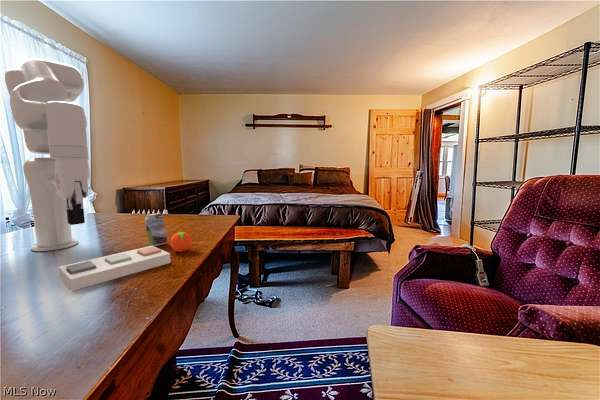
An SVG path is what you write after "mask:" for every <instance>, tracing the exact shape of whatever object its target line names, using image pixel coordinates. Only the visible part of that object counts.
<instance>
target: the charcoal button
mask: <svg viewBox="0 0 600 400" xmlns="http://www.w3.org/2000/svg"><path fill="white" fill-rule="evenodd" d="M66 267H67V272H68V273H69V274H70V275H72V274H76V273H80V272H84V271H88V270H92V269H96V265H95V264H93V263H92V262H91V261H87V262H83V263H79V264H74V265H70V266H66Z"/></svg>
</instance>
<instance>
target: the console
mask: <svg viewBox="0 0 600 400" xmlns="http://www.w3.org/2000/svg"><path fill="white" fill-rule="evenodd" d="M149 247H153V246H152V245H149V246H144V247H141V248H135V249H131V250H126V251H122V252H118V253H113V254H109V255H106V256H105V255H103V256H100V257H95V258H92V259H91V258H90V259H87V260H82V261H78V262H74V263H70V264H65V265H60V266H58V267H57V268H58V274H59V275H58V276H59V278H60V280H61V279H62V280H63V281H62V280H61V281H62V282H63V283H64V284H65V286H67V287H68V288H69V290H70V291H71V290H72V292H73V291H77V290H81V289H84V288H88V287H91V286H95V285H99V284H101V283H104V282H108V281H111V280H116V279H119V278H122V277H125V276H129V275H134V274H136V273H139V272H143V271H146V270H149V269H153V268H157V267H160V266H163V265H167V264H171V252H168V251H165V250H163V249H161V252H160V253H156V254H152V255H148V256H142V255H140V254H138V253H137V250H140V249H144V248H149ZM122 253H125V254H127V255H129V256H131V260H128V261H124V262H120V263H116V264H112V265H110V264H109V263H107V262H106V261H105V257H109V256H114V255H118V254H122ZM87 261H91V262H92V263H93V264H95V265H96V269H92V270H88V271H84V272H80V273H76V274H72V275H70V274H69V273H68V272H67V267H66V266H70V265H74V264H79V263H83V262H87Z"/></svg>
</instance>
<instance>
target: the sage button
mask: <svg viewBox="0 0 600 400" xmlns="http://www.w3.org/2000/svg"><path fill="white" fill-rule="evenodd" d="M121 253H122V252H121ZM128 260H131V256H129V255H127V254H125V253H122V254H118V255H114V256H109V257H105V261H106V262H107V263H109V264H110V265H112V264H116V263H120V262H124V261H128Z"/></svg>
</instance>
